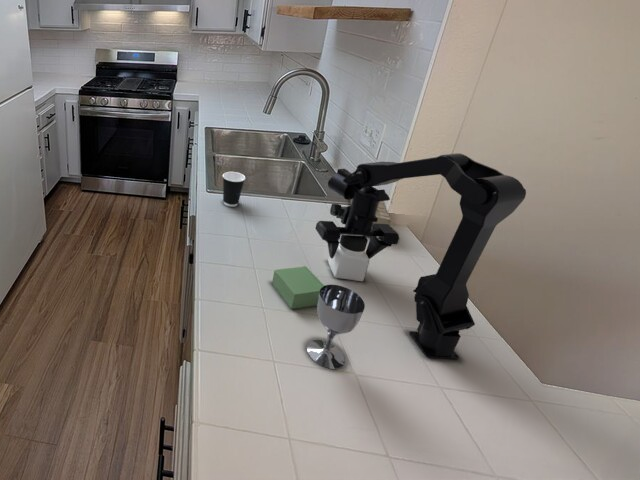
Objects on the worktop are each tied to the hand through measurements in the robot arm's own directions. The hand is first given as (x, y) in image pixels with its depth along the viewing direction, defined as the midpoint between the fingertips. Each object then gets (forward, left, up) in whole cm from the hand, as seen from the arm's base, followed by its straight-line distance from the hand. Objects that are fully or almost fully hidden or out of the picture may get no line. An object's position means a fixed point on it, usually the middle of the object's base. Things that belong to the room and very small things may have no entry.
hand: (348, 258), depth 104 cm
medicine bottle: (0, 0, -5) cm, 5 cm away
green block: (-10, +16, -4) cm, 19 cm away
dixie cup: (+36, +25, -5) cm, 44 cm away
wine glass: (-28, +16, -5) cm, 33 cm away
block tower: (+31, -20, -5) cm, 37 cm away
